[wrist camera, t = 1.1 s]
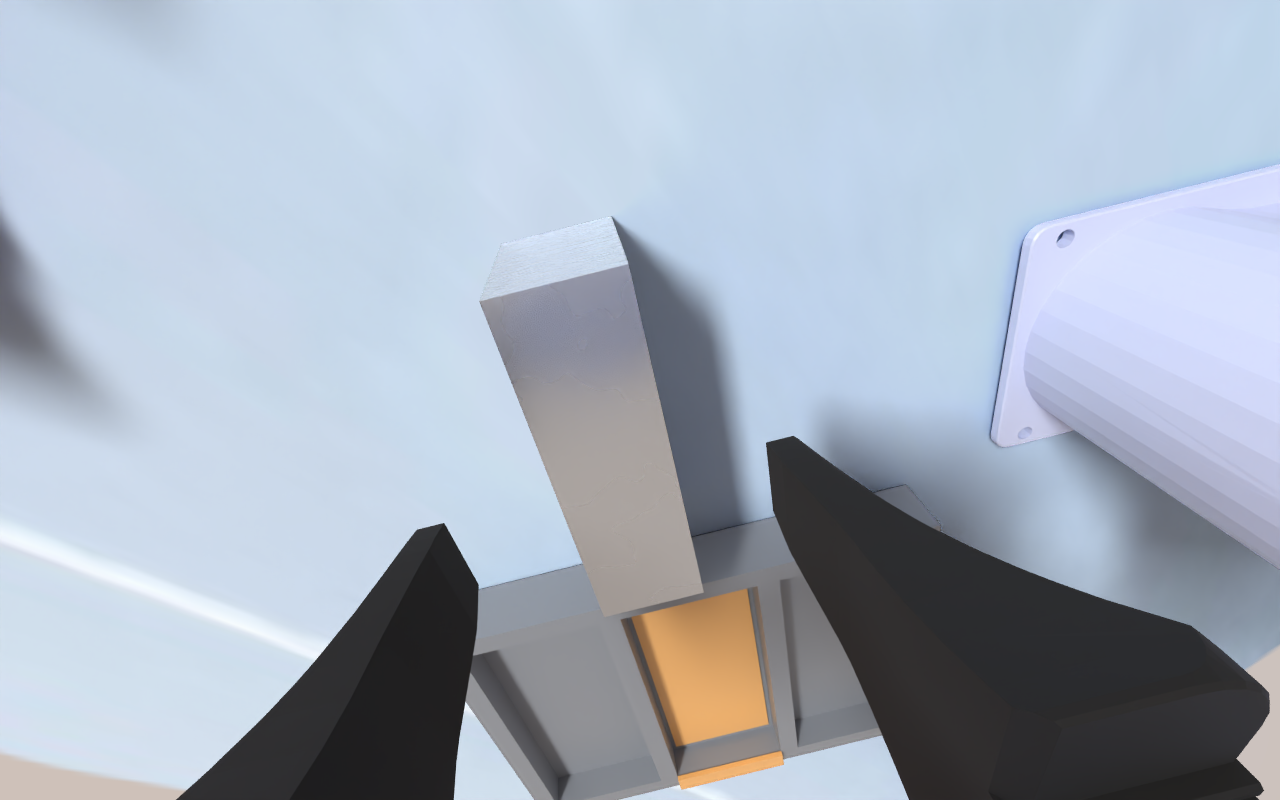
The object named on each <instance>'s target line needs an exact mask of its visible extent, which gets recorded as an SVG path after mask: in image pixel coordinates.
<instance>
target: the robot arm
mask: <svg viewBox="0 0 1280 800" xmlns="http://www.w3.org/2000/svg"><path fill="white" fill-rule="evenodd" d="M1063 231H1064V234H1063V236H1062V238H1061V239H1060V240H1059V241H1058V242H1056V241H1057V239H1058V236H1059V235H1060V234H1061V233H1062V232H1063ZM1071 431H1077V432H1078V433H1080V434H1081V435H1083V436H1084V437H1086V438H1087V439H1089V440H1090V441H1091V442H1093V443H1094V444H1096V445H1097V446H1099V447H1100V448H1102V449H1103V450H1105V451H1106V452H1108V453H1109V454H1110V455H1112V456H1113V457H1115V458H1116V459H1118V460H1119V461H1121V462H1122V463H1124V464H1125V465H1127V466H1128V467H1130V468H1131V469H1132V470H1134V471H1135V472H1137V473H1138V474H1140V475H1141V476H1143V477H1144V478H1146V479H1147V480H1149V481H1150V482H1152V483H1153V484H1154V485H1156V486H1157V487H1159V488H1160V489H1162V490H1163V491H1165V492H1166V493H1168V494H1169V495H1171V496H1172V497H1174V498H1175V499H1176V500H1178V501H1179V502H1181V503H1182V504H1184V505H1185V506H1187V507H1188V508H1190V509H1191V510H1193V511H1194V512H1196V513H1197V514H1198V515H1200V516H1201V517H1203V518H1204V519H1206V520H1207V521H1209V522H1210V523H1212V524H1213V525H1215V526H1216V527H1218V528H1219V529H1220V530H1222V531H1223V532H1225V533H1226V534H1228V535H1229V536H1231V537H1232V538H1234V539H1235V540H1237V541H1238V542H1240V543H1241V544H1242V545H1244V546H1245V547H1247V548H1248V549H1250V550H1251V551H1253V552H1254V553H1256V554H1257V555H1259V556H1260V557H1262V558H1263V559H1264V560H1266V561H1267V562H1269V563H1270V564H1272V565H1273V566H1275V567H1276V568H1278V569H1279V570H1280V164H1278V165H1274V166H1270V167H1266V168H1262V169H1258V170H1254V171H1250V172H1246V173H1242V174H1237V175H1233V176H1229V177H1225V178H1221V179H1217V180H1213V181H1209V182H1205V183H1201V184H1197V185H1193V186H1189V187H1185V188H1181V189H1177V190H1173V191H1169V192H1165V193H1161V194H1157V195H1153V196H1149V197H1145V198H1140V199H1136V200H1132V201H1128V202H1124V203H1120V204H1116V205H1112V206H1108V207H1104V208H1100V209H1096V210H1092V211H1088V212H1084V213H1080V214H1076V215H1072V216H1068V217H1064V218H1060V219H1056V220H1052V221H1048V222H1044V223H1041V224H1039V225H1036V226H1035V227H1034V228H1032V229H1031V230H1030V231H1029V232H1028V234H1027V235H1026V237H1025V239H1024V242H1023V245H1022V251H1021V257H1020V263H1019V269H1018V275H1017V281H1016V287H1015V293H1014V299H1013V305H1012V311H1011V317H1010V323H1009V329H1008V335H1007V341H1006V347H1005V353H1004V359H1003V365H1002V371H1001V377H1000V382H999V388H998V394H997V400H996V406H995V412H994V418H993V424H992V430H991V439H992V440H993V441H994V442H995V443H996V444H997V445H998V446H1001V447H1010V446H1014V445H1018V444H1022V443H1026V442H1030V441H1034V440H1038V439H1042V438H1046V437H1050V436H1054V435H1058V434H1062V433H1066V432H1071ZM766 447H767V456H768V466H769V475H770V484H771V494H772V503H773V511H774V514H775V516H776V519H777V521H778V524H779V526H780V529H781V531H782V534H783V536H784V539H785V541H786V543H787V546H788V548H789V550H790V553H791V554H792V556H793V558H794V560H795V562H796V564H797V565H798V567H799V569H800V571H801V573H802V574H803V576H804V578H805V580H806V582H807V583H808V585H809V587H810V589H811V591H812V592H813V594H814V596H815V598H816V600H817V601H818V603H819V605H820V607H821V609H822V610H823V612H824V614H825V616H826V617H827V619H828V621H829V623H830V625H831V626H832V628H833V630H834V632H835V634H836V635H837V637H838V639H839V641H840V643H841V645H842V647H843V649H844V651H845V653H846V655H847V656H848V658H849V660H850V662H851V665H852V667H853V669H854V671H855V674H856V676H857V678H858V680H859V683H860V685H861V687H862V690H863V692H864V694H865V696H866V699H867V701H868V703H869V705H870V708H871V710H872V712H873V715H874V717H875V719H876V722H877V724H878V726H879V729H880V731H881V733H882V736H883V738H884V740H885V743H886V745H887V747H888V750H889V752H890V754H891V757H892V759H893V762H894V764H895V766H896V769H897V771H898V774H899V776H900V779H901V781H902V784H903V786H904V788H905V791H906V793H907V796H908V798H909V800H1259V799H1258V798H1257V797H1256V796H1259V795H1260V794H1261V793H1262V792H1263V791H1264V790H1263V788H1262V786H1261V783H1260V782H1259V781H1258V780H1257V779H1256V778H1255V777H1254V776H1253V775H1252V774H1251V773H1250V772H1249V771H1248V770H1247V769H1246V768H1245V767H1244V766H1243V765H1242V764H1241V763H1240V762H1239V761H1238V760H1237V759H1236V758H1237V757H1238V756H1239V754H1240V753H1241V752H1242V751H1243V749H1244V748H1245V746H1246V745H1247V744H1248V743H1249V741H1250V740H1251V739H1252V738H1253V736H1254V735H1255V734H1256V732H1257V731H1258V730H1259V729H1260V727H1261V726H1262V725H1263V723H1264V721H1265V719H1266V717H1267V716H1268V714H1269V711H1270V710H1269V709H1270V707H1269V704H1270V700H1269V693H1268V692H1267V690H1266V689H1265V688H1264V687H1263V686H1262V685H1261V684H1260V683H1258V682H1257V681H1256V680H1255V679H1254V678H1253V677H1251V675H1249V674H1248V673H1247V672H1246V671H1245V670H1244V669H1243V668H1241V667H1240V666H1239V665H1238V664H1237V663H1236V662H1235V661H1233V660H1232V659H1231V658H1230V657H1229V656H1228V655H1227V654H1225V653H1224V652H1223V651H1222V650H1221V649H1220V648H1218V647H1217V646H1216V645H1215V644H1213V643H1212V642H1211V641H1210V640H1208V639H1207V638H1206V637H1205V636H1204V635H1202V634H1201V633H1200V632H1198V631H1197V630H1196V629H1194V628H1193V627H1192V626H1190V625H1187V624H1184V623H1180V622H1177V621H1174V620H1170V619H1167V618H1164V617H1161V616H1157V615H1154V614H1151V613H1147V612H1144V611H1141V610H1137V609H1134V608H1131V607H1128V606H1124V605H1121V604H1118V603H1114V602H1111V601H1108V600H1105V599H1102V598H1099V597H1096V596H1093V595H1090V594H1087V593H1085V592H1082V591H1079V590H1076V589H1073V588H1071V587H1068V586H1065V585H1062V584H1059V583H1056V582H1054V581H1051V580H1048V579H1046V578H1043V577H1041V576H1038V575H1036V574H1033V573H1030V572H1028V571H1025V570H1023V569H1020V568H1018V567H1016V566H1013V565H1011V564H1009V563H1006V562H1004V561H1002V560H999V559H997V558H995V557H992V556H990V555H988V554H985V553H983V552H981V551H979V550H976V549H974V548H972V547H970V546H968V545H966V544H963V543H961V542H959V541H957V540H955V539H953V538H952V537H950V536H948V535H946V534H944V533H942V532H940V531H938V530H936V529H934V528H932V527H930V526H928V525H926V524H924V523H922V522H921V521H919V520H917V519H915V518H914V517H912V516H910V515H908V514H907V513H905V512H903V511H902V510H900V509H898V508H897V507H895V506H893V505H892V504H890V503H889V502H887V501H885V500H884V499H882V498H881V497H879V496H877V495H876V494H874V493H873V492H871V491H870V490H868V489H867V488H865V487H864V486H862V485H861V484H859V483H858V482H856V481H855V480H854V479H852V478H851V477H849V476H848V475H846V474H845V473H843V472H842V471H841V470H839V469H838V468H836V467H835V466H834V465H832V464H831V463H830V462H828V461H827V460H825V459H824V458H823V457H821V456H820V455H819V454H817V453H816V452H815V451H814V450H812V449H811V448H810V447H808V446H807V445H806V444H804V443H803V442H802V441H800V440H799V439H798V438H796V437H794V436H791V437H787V438H783V439H779V440H775V441H771V442H767V443H766ZM478 586H479V585H478V583H477V581H476V579H475V577H474V576H473V574H472V572H471V570H470V568H469V567H468V565H467V563H466V561H465V560H464V558H463V556H462V554H461V552H460V551H459V549H458V547H457V545H456V543H455V542H454V540H453V538H452V536H451V534H450V533H449V531H448V529H447V527H446V526H445V524H444V523H442V524H438V525H434V526H430V527H426V528H422V529H418V530H417V531H416V532H415V533H414V534H413V535H412V537H411V538H410V539H409V541H408V542H407V543H406V544H405V546H404V547H403V548H402V550H401V551H400V552H399V554H398V555H397V557H396V558H395V559H394V561H393V562H392V563H391V565H390V566H389V567H388V569H387V570H386V571H385V573H384V574H383V576H382V577H381V578H380V580H379V581H378V582H377V584H376V585H375V586H374V588H373V589H372V590H371V592H370V593H369V594H368V596H367V597H366V598H365V600H364V601H363V602H362V603H361V605H360V606H359V607H358V609H357V610H356V611H355V613H354V614H353V615H352V617H351V618H350V619H349V620H348V621H347V623H346V624H345V625H344V626H343V628H342V629H341V630H340V631H339V632H338V634H337V635H336V636H335V637H334V639H333V640H332V641H331V642H330V644H329V645H328V646H327V647H326V648H325V650H324V651H323V652H322V653H321V655H320V656H319V657H318V658H317V659H316V661H315V662H314V663H313V664H312V665H311V666H310V668H309V669H308V670H307V671H306V672H305V673H304V674H303V675H302V677H301V678H300V679H299V680H298V681H297V682H296V683H295V684H294V686H293V687H292V688H291V689H290V690H289V691H288V692H287V693H286V694H285V695H284V696H283V697H282V698H281V699H280V700H279V702H278V703H277V704H276V705H275V706H274V707H273V708H272V709H271V710H270V711H269V712H268V713H267V714H266V715H265V716H264V717H263V718H262V719H261V720H260V721H259V722H258V723H257V724H256V725H255V726H254V727H253V728H252V729H251V730H250V731H249V732H248V733H247V734H246V735H245V736H244V737H243V738H242V739H241V740H240V741H239V742H238V743H237V744H236V745H235V746H234V747H232V748H231V749H230V750H229V751H228V752H227V753H226V754H225V755H224V756H223V757H222V758H221V759H220V760H219V761H218V762H217V763H216V764H215V765H214V766H213V767H212V768H211V769H210V770H209V771H208V772H206V773H205V774H204V775H203V776H202V777H201V778H200V779H199V780H198V781H197V782H195V783H194V784H193V785H192V786H191V787H190V788H189V789H188V790H186V791H185V792H184V793H183V794H182V795H181V796H180V797H179V798H178V799H176V800H454V787H455V773H456V760H457V752H458V744H459V736H460V730H461V725H462V719H463V713H464V707H465V701H466V695H467V689H468V683H469V677H470V671H471V665H472V659H473V653H474V647H475V640H476V634H477V621H478Z"/></svg>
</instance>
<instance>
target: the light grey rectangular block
mask: <svg viewBox="0 0 1280 800" xmlns="http://www.w3.org/2000/svg"><path fill="white" fill-rule="evenodd" d="M479 302H480V304H481V307H482V309H483V312H484V314H485V317H486V319H487V322H488V324H489V327H490V329H491V332H492V335H493V337H494V340H495V342H496V345H497V347H498V350H499V352H500V355H501V357H502V360H503V362H504V365H505V367H506V370H507V373H508V375H509V378H510V380H511V383H512V385H513V388H514V390H515V393H516V395H517V398H518V400H519V403H520V405H521V408H522V410H523V413H524V416H525V418H526V421H527V423H528V426H529V428H530V431H531V433H532V436H533V438H534V441H535V443H536V446H537V448H538V451H539V453H540V456H541V459H542V461H543V464H544V466H545V469H546V471H547V474H548V476H549V479H550V481H551V484H552V486H553V489H554V491H555V494H556V496H557V499H558V502H559V504H560V507H561V509H562V512H563V514H564V517H565V519H566V522H567V524H568V527H569V529H570V532H571V534H572V537H573V540H574V542H575V545H576V547H577V550H578V552H579V555H580V557H581V560H582V562H583V565H584V567H585V570H586V572H587V575H588V577H589V580H590V583H591V585H592V588H593V590H594V593H595V595H596V598H597V600H598V603H599V605H600V608H601V610H602V613H603V615H604V617H607V616H611V615H615V614H619V613H623V612H627V611H631V610H636V609H640V608H644V607H648V606H652V605H656V604H660V603H664V602H668V601H672V600H676V599H680V598H684V597H688V596H692V595H696V594H700V593H704V591H703V586H702V582H701V578H700V573H699V569H698V565H697V560H696V556H695V551H694V547H693V543H692V538H691V534H690V530H689V525H688V521H687V517H686V512H685V508H684V503H683V499H682V495H681V490H680V486H679V482H678V477H677V473H676V469H675V464H674V460H673V455H672V451H671V447H670V442H669V438H668V434H667V429H666V425H665V421H664V416H663V412H662V408H661V403H660V399H659V394H658V390H657V386H656V381H655V377H654V373H653V368H652V364H651V360H650V355H649V351H648V346H647V342H646V338H645V333H644V329H643V325H642V320H641V316H640V312H639V307H638V303H637V298H636V294H635V290H634V285H633V281H632V277H631V272H630V268H629V264H628V261H627V258H626V255H625V253H624V250H623V247H622V244H621V242H620V239H619V236H618V233H617V230H616V228H615V225H614V222H613V219H612V217H611V216H609V217H605V218H601V219H597V220H593V221H589V222H585V223H581V224H577V225H574V226H570V227H566V228H562V229H558V230H554V231H550V232H546V233H542V234H538V235H534V236H530V237H526V238H522V239H518V240H514V241H510V242H506V243H502V244H501V245H500V248H499V250H498V253H497V256H496V258H495V261H494V264H493V266H492V269H491V272H490V274H489V277H488V280H487V282H486V285H485V288H484V290H483V293H482V296H481V298H480V301H479Z"/></svg>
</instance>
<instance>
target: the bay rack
mask: <svg viewBox="0 0 1280 800" xmlns="http://www.w3.org/2000/svg"><path fill="white" fill-rule="evenodd" d="M874 494H876V495H877V496H879V497H881V498H882V499H884V500H885V501H887V502H889V503H890V504H892V505H893V506H895V507H897V508H898V509H900V510H902V511H903V512H905V513H907V514H908V515H910V516H912V517H914V518H915V519H917V520H919V521H921V522H922V523H924V524H926V525H928V526H930V527H932V528H934V529H936V530H938V531H940V529H941V525H940V524H939V523H938V521H937V520H936V519H935V518H934V517H933V515H932V514H931V513H930V512H929V511H928V510H927V508H926V507H925V506H924V505H923V504H922V503H921V501H920V500H919V499H918V498H917V497H916V495H915V494H914V493H913V492H912V491H911V490H910V488H909V487H908V486H907V485H902V486H898V487H894V488H890V489H886V490H882V491H878V492H874ZM691 538H692V543H693V547H694V551H695V556H696V560H697V565H698V569H699V573H700V578H701V582H702V586H703V591H704V593H700V594H696V595H692V596H688V597H684V598H680V599H676V600H672V601H668V602H664V603H660V604H656V605H652V606H648V607H644V608H640V609H636V610H631V611H627V612H623V613H619V614H615V615H611V616H607V617H604V615H603V613H602V610H601V608H600V605H599V603H598V600H597V598H596V595H595V593H594V590H593V588H592V585H591V583H590V580H589V577H588V575H587V572H586V570H585V567H584V565H583V564H581V565H577V566H573V567H569V568H565V569H561V570H557V571H553V572H549V573H545V574H541V575H537V576H533V577H529V578H524V579H520V580H516V581H512V582H508V583H504V584H500V585H496V586H492V587H488V588H484V589H480V590H478V621H477V634H476V640H475V647H474V653H473V659H472V665H471V671H470V677H469V683H468V689H467V695H466V703H467V704H468V705H469V707H470V708H471V710H472V711H473V713H474V714H475V715H476V717H477V718H478V720H479V721H480V723H481V724H482V725H483V727H484V728H485V730H486V731H487V733H488V734H489V735H490V737H491V738H492V740H493V741H494V743H495V744H496V745H497V747H498V748H499V750H500V751H501V753H502V754H503V755H504V757H505V758H506V760H507V761H508V763H509V764H510V765H511V767H512V768H513V770H514V771H515V773H516V774H517V775H518V777H519V778H520V780H521V781H522V783H523V784H524V785H525V787H526V788H527V790H528V791H529V793H530V794H531V795H532V797H533V798H534V800H619V799H623V798H627V797H631V796H635V795H640V794H644V793H648V792H652V791H656V790H660V789H664V788H668V787H672V786H676V785H680V787H681V789H686V788H690V787H694V786H699V785H703V784H707V783H711V782H715V781H719V780H723V779H727V778H731V777H735V776H739V775H744V774H748V773H752V772H756V771H760V770H764V769H768V768H772V767H776V766H780V765H784V762H783V759H787V758H791V757H795V756H799V755H803V754H807V753H811V752H815V751H820V750H824V749H828V748H832V747H836V746H840V745H844V744H848V743H852V742H856V741H860V740H864V739H869V738H873V737H877V736H881V735H882V733H881V731H880V729H879V726H878V724H877V722H876V719H875V717H874V715H873V712H872V710H871V708H870V705H869V703H868V701H867V699H866V696H865V694H864V692H863V690H862V687H861V685H860V683H859V680H858V678H857V676H856V674H855V671H854V669H853V667H852V665H851V662H850V660H849V658H848V656H847V655H846V653H845V651H844V649H843V647H842V645H841V643H840V641H839V639H838V637H837V635H836V634H835V632H834V630H833V628H832V626H831V625H830V623H829V621H828V619H827V617H826V616H825V614H824V612H823V610H822V609H821V607H820V605H819V603H818V601H817V600H816V598H815V596H814V594H813V592H812V591H811V589H810V587H809V585H808V583H807V582H806V580H805V578H804V576H803V574H802V573H801V571H800V569H799V567H798V565H797V564H796V562H795V560H794V558H793V556H792V554H791V553H790V550H789V548H788V546H787V543H786V541H785V539H784V536H783V534H782V531H781V529H780V526H779V524H778V521H777V519H776V517H772V518H768V519H764V520H760V521H756V522H752V523H748V524H744V525H740V526H736V527H732V528H728V529H724V530H720V531H715V532H711V533H707V534H703V535H699V536H695V537H691Z"/></svg>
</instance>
